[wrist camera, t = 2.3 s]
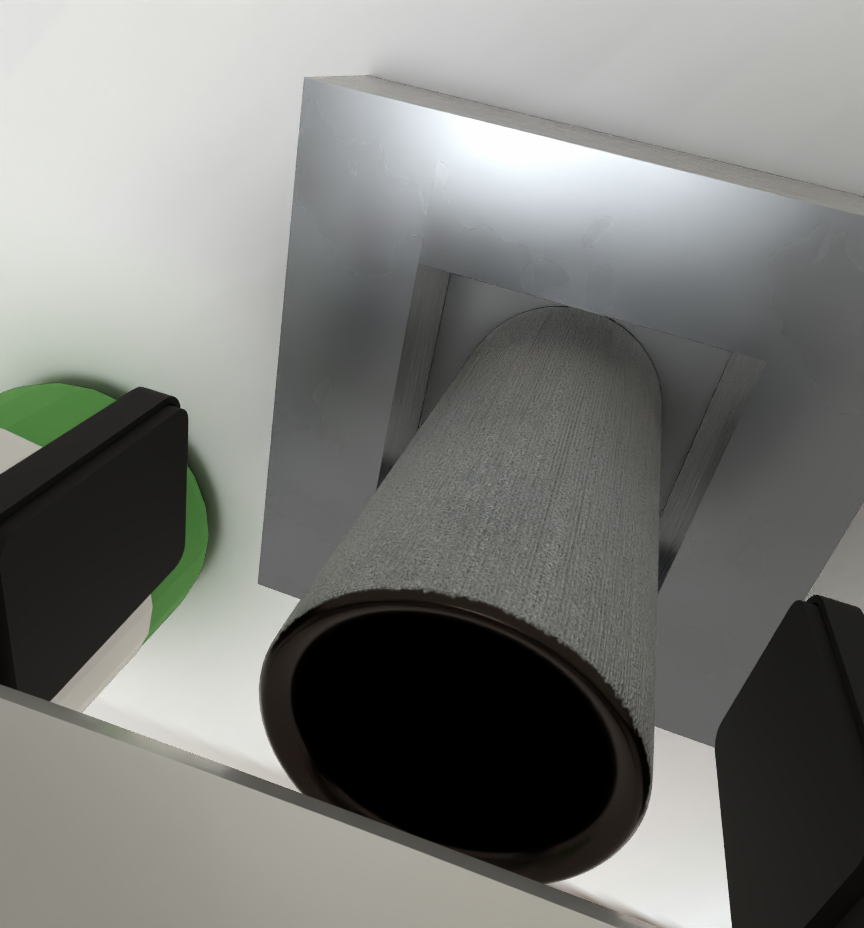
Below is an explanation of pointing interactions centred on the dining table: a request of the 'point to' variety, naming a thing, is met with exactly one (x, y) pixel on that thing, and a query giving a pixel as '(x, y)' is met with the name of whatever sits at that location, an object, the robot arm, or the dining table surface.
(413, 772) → the grey cylinder
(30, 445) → the wine bottle
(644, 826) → the dining table surface
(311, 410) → the socket block
